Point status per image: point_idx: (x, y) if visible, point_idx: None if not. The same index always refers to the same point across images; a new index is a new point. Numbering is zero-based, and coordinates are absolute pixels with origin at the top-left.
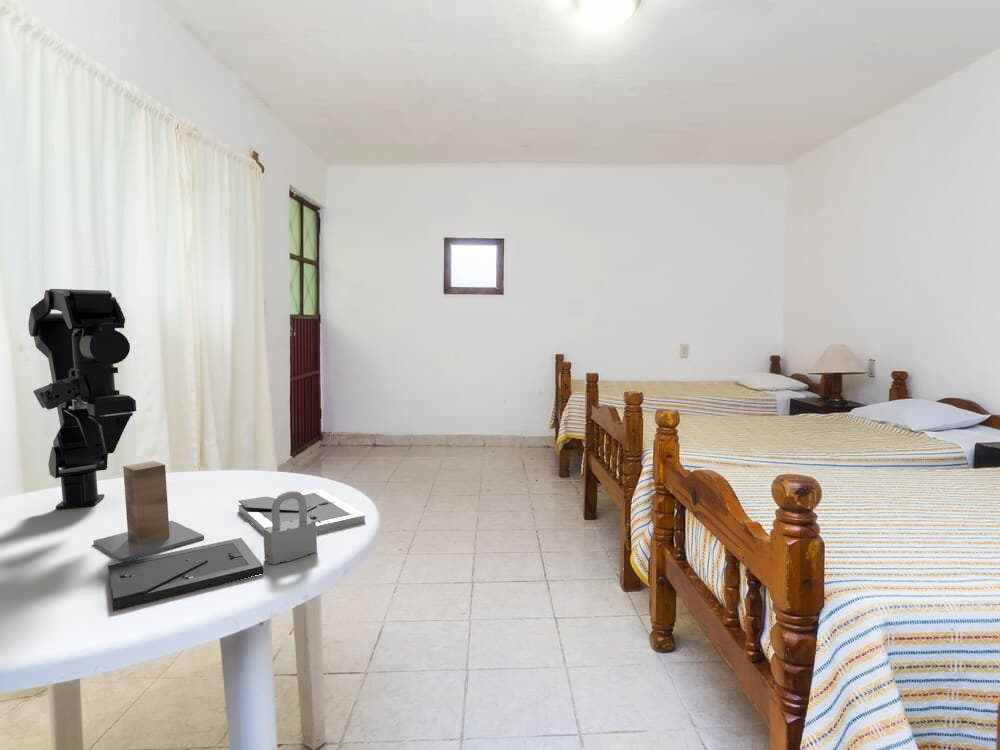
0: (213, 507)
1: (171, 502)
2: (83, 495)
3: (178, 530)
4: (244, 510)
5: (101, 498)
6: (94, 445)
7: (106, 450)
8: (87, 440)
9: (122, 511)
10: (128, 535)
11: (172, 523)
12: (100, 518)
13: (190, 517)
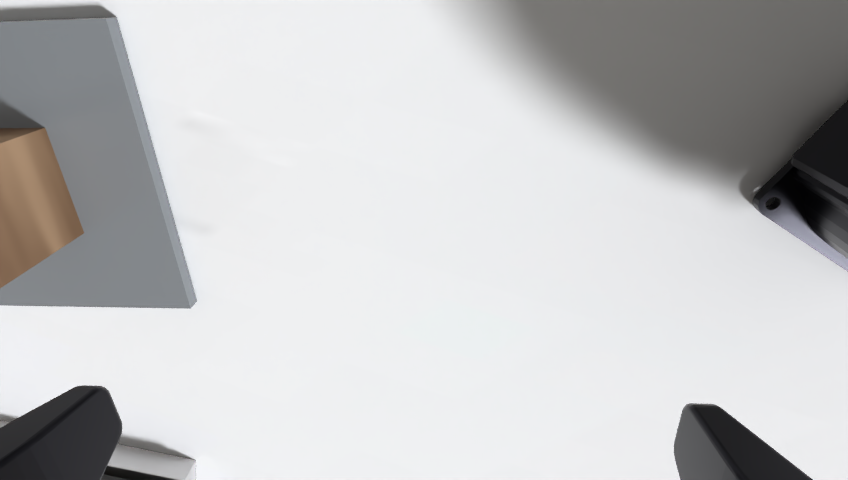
0: (299, 441)
1: (488, 397)
2: (823, 188)
3: (50, 277)
4: (112, 463)
5: (831, 259)
6: (675, 455)
7: (42, 406)
8: (722, 470)
9: (531, 249)
10: (27, 132)
11: (151, 295)
12: (503, 156)
13: (234, 361)
